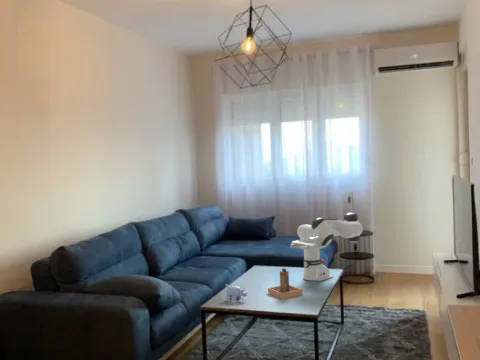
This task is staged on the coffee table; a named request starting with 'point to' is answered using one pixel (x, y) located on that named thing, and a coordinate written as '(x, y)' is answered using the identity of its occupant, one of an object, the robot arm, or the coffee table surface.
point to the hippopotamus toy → (234, 293)
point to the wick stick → (284, 280)
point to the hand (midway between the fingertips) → (296, 247)
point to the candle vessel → (291, 293)
